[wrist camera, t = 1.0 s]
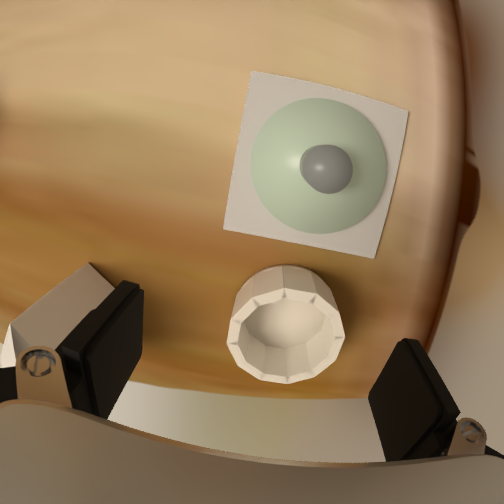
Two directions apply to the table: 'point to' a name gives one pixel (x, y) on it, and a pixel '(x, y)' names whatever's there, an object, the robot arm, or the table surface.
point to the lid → (318, 165)
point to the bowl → (285, 325)
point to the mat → (241, 187)
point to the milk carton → (55, 313)
